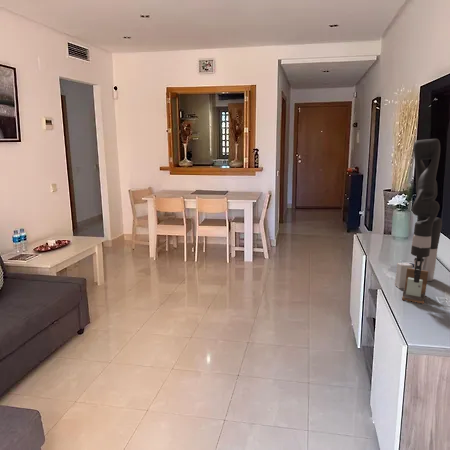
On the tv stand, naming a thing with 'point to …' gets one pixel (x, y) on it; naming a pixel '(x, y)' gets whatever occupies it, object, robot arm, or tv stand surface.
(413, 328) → the tv stand surface
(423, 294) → the cabinet
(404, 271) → the skincare box
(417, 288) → the door
